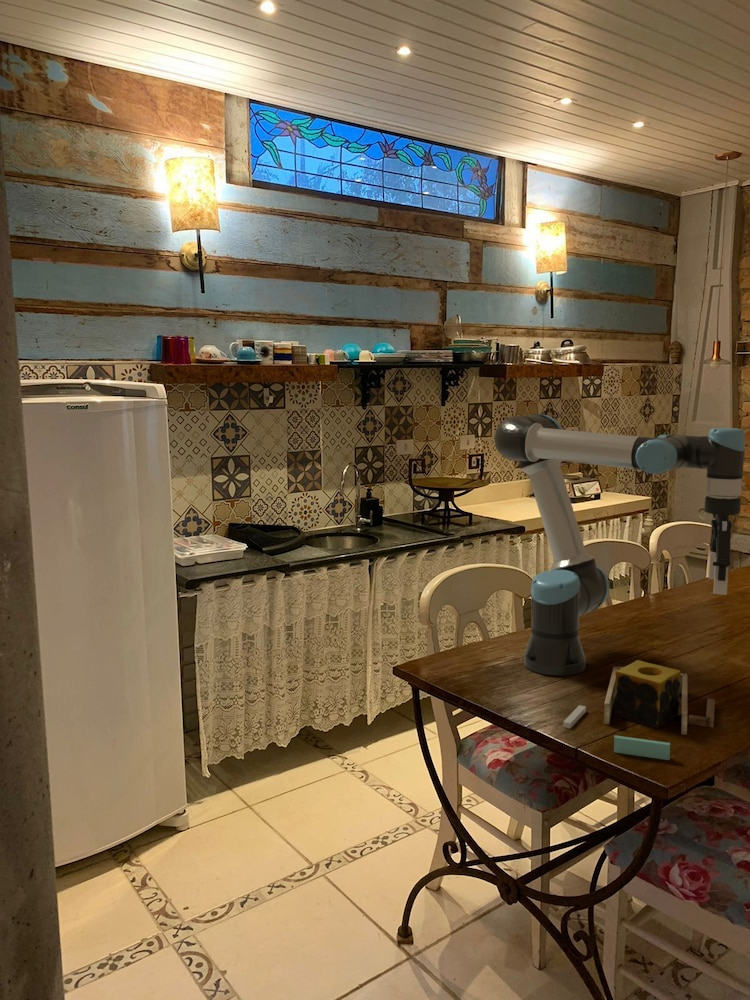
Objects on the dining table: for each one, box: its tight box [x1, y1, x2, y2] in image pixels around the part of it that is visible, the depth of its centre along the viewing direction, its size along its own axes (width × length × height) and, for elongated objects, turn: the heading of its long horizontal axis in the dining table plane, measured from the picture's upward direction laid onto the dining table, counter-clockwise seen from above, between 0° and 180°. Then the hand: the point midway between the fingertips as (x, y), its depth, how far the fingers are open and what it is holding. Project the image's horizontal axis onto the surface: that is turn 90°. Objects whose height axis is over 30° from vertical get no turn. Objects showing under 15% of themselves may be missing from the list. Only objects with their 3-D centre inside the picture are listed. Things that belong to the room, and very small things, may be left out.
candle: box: [613, 659, 681, 729], centre depth 166 cm, size 10×10×10 cm
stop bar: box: [613, 735, 671, 761], centre depth 148 cm, size 10×1×3 cm, turn 68°
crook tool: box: [688, 698, 716, 728], centre depth 166 cm, size 5×12×2 cm, turn 155°
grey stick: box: [562, 704, 587, 730], centre depth 165 cm, size 2×10×2 cm, turn 147°
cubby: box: [603, 666, 688, 736], centre depth 170 cm, size 16×23×4 cm
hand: (717, 586), depth 181 cm, fingers open, 13 cm apart
